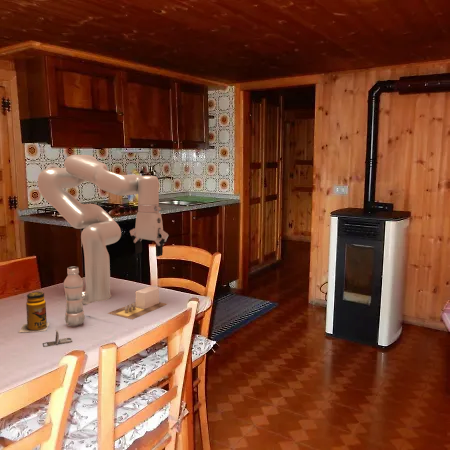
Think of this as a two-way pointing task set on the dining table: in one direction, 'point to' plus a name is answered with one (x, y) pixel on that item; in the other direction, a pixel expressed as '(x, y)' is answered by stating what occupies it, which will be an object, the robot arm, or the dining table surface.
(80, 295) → the plastic bottle
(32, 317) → the condiment
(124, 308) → the board
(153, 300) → the block
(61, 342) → the strap clip
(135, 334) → the dining table surface
